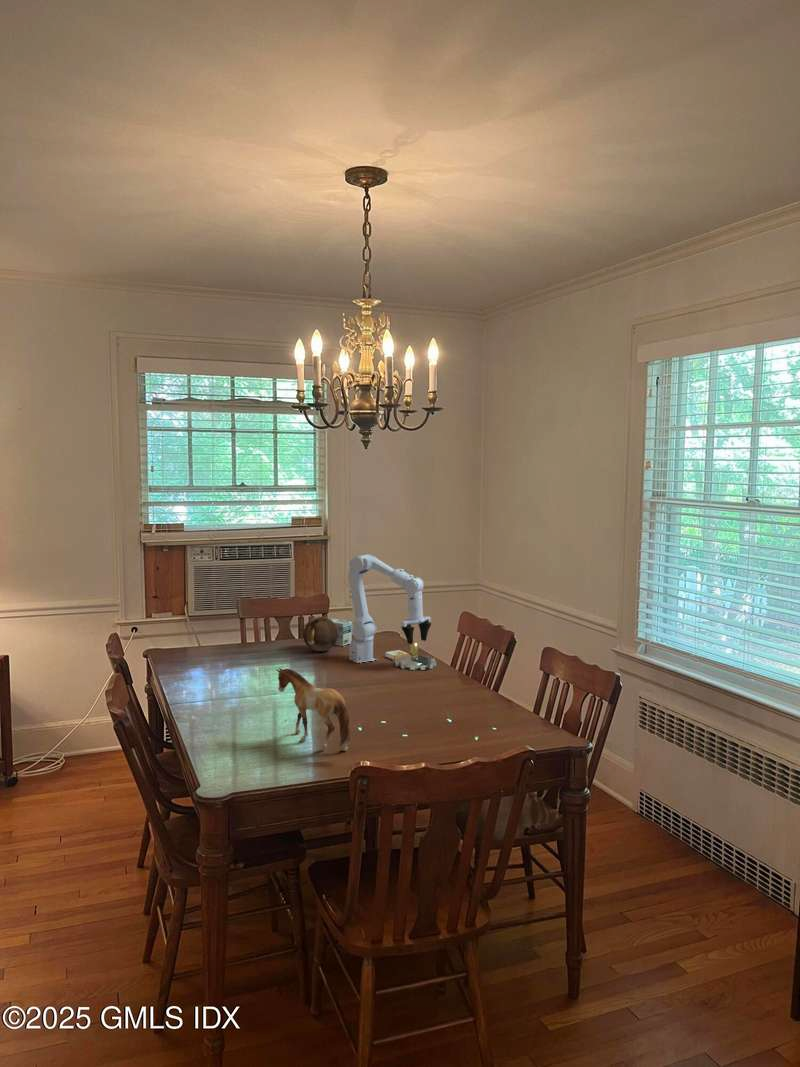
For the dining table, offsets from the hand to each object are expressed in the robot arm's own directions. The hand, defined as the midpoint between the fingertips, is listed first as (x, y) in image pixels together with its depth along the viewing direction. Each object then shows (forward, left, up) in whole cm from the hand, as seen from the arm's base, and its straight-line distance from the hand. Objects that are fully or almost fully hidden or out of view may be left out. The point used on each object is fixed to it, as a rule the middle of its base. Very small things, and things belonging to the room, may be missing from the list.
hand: (417, 642), depth 303 cm
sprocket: (+3, +5, -11) cm, 12 cm away
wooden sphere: (-19, +45, -11) cm, 50 cm away
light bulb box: (-6, +52, -11) cm, 53 cm away
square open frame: (+3, +18, -11) cm, 21 cm away
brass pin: (+11, +17, -11) cm, 23 cm away
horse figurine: (-76, -52, -11) cm, 93 cm away
